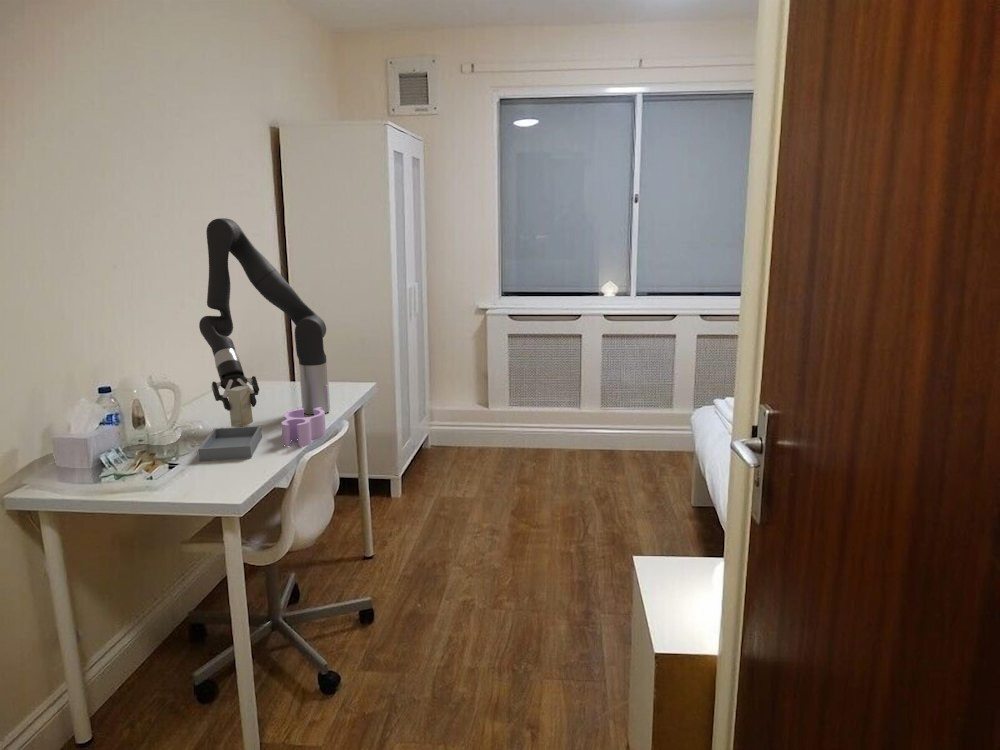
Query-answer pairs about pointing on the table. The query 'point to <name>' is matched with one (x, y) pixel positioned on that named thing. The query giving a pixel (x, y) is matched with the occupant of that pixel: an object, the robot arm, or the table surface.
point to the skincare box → (240, 406)
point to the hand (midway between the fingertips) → (241, 407)
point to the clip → (303, 426)
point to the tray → (230, 443)
